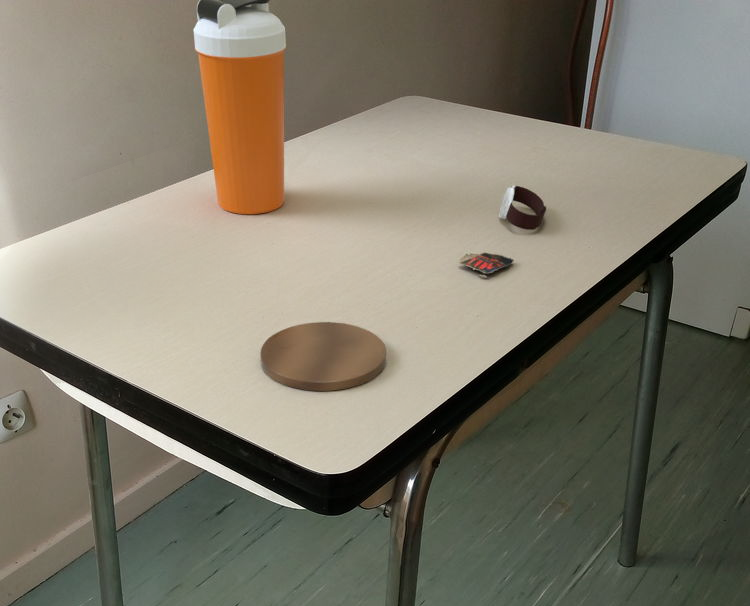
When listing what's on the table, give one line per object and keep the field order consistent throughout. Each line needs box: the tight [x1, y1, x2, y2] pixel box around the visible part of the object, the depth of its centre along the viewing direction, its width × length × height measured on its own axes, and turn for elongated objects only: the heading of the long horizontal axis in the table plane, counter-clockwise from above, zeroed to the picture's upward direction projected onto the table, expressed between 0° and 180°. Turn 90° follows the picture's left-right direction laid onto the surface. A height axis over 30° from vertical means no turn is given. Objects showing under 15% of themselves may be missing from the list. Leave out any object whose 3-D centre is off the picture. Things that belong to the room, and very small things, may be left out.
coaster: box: [260, 321, 387, 392], centre depth 80 cm, size 10×10×1 cm
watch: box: [498, 185, 547, 231], centre depth 103 cm, size 8×5×4 cm, turn 177°
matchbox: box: [457, 251, 514, 280], centre depth 95 cm, size 5×5×1 cm
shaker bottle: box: [193, 0, 287, 215], centre depth 102 cm, size 9×9×20 cm
